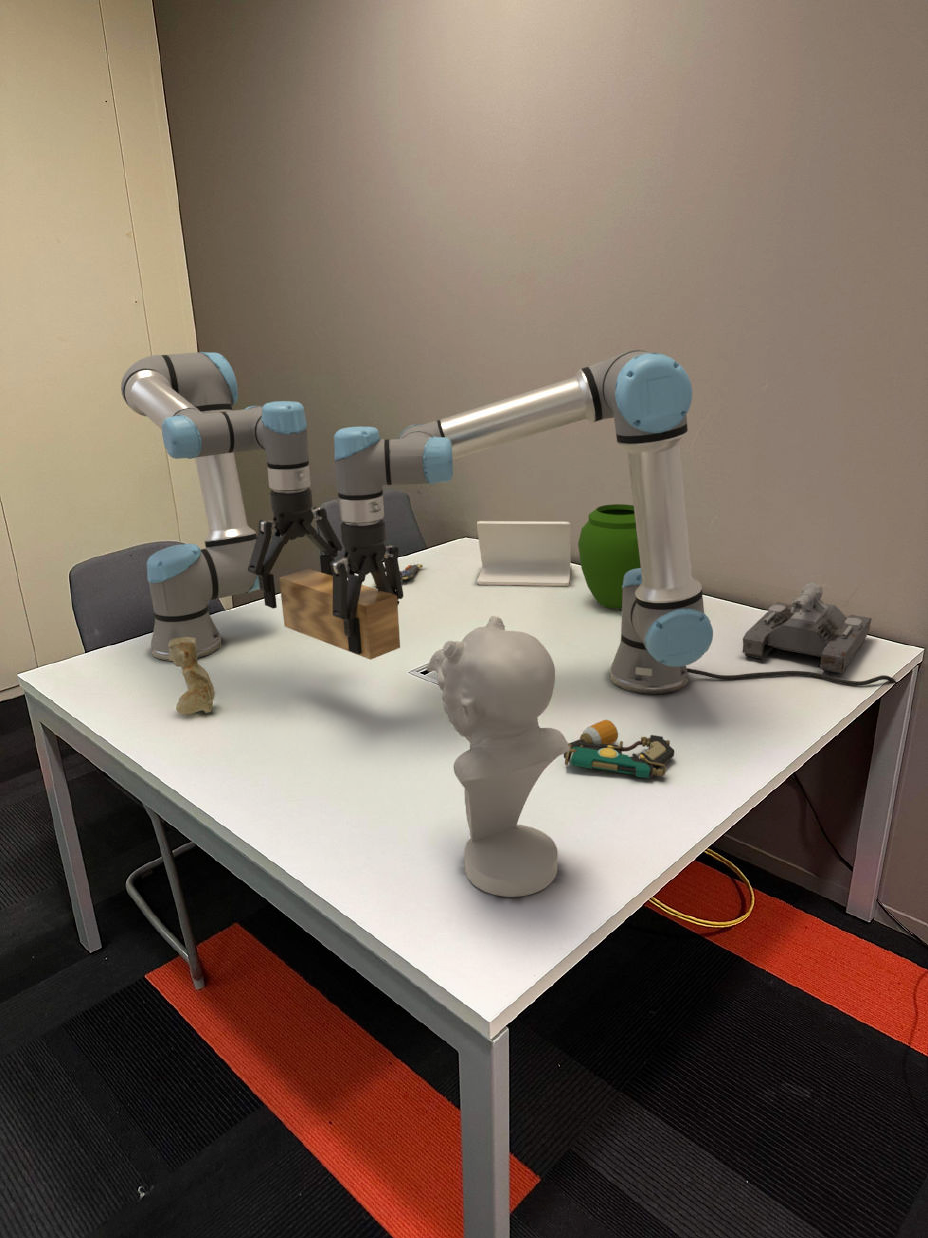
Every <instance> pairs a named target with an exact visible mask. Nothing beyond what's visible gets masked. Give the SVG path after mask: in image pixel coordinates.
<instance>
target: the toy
mask: <svg viewBox="0 0 928 1238" xmlns="http://www.w3.org/2000/svg"><path fill="white" fill-rule="evenodd" d="M823 594H824V591H823V588H822V586H821V585H820V584H819V583H816V582H808V583H806V584H805V585H804V586H802V589H801V594H800V595H799V596H798V597H794V598H793V599H792V601H791V602H790V603H785V602H780V601H779V602H776V603H775V604H773V605H771V606H770V607H769V608H768V610H767V612H765V614H764V615H763V616H762V617H761V618H759V619H758V621H756V623H754V624H753V625H752V626H751V627H750V628H749V629H748V630H747V631H746V632H745V634H744V635H743V638H742V653H744V656H745V657H751V658H756V659H761V660H764V659H765V658H766V657H767V655H769V653H770V652H772V651H773V649H777V650H781V651H786V652H787V651H788V652H793V653H797V654H801V655H802V654H803V655H808V656H812V657H817V658H820V666H819V669H821V671H825V672H830V673H834V674H839V675H842V674H843V673H844V671H845V670H846V668H847V667H848V665H849V664H850V662H851V661H852V660H853V658H854V657H855V655H856V654H857V653H858V651H859V650H860V648H861V647H862V645H863V644H864V642H865V640H866V638H867V636H868V635H869V633H870V628H871V623H872V618H871V617H867V616H861V615H857V614H856V615H855V614H849V616H848V617H847V616H846V615H845V614H844V613H843V612H842V610H840V609H839V608H838V607H837V605H834V604H828V603H825V602H824V601H823V600H822V596H823Z"/></svg>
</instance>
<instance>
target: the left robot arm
mask: <svg viewBox="0 0 928 1238" xmlns="http://www.w3.org/2000/svg"><path fill="white" fill-rule="evenodd" d="M120 391H121V395H122V397H123V400H124V402H125V404H126V405H127V406H128V407H129V408H130V409H131V410H132V411H133V412H134V413H136V414H137V415H140V416H143V417H147V418H148V419H149V420H151V422H153V423H154V424H155V425H156V426H157V427H158V428H159V429H160V430H161V436H162V437H161V438H162V440H163V446H164V448H165V450H166V452H167V454H168V456H169V457H170V458H172V459H174V460H176V459H177V460H179V459H188V460H191V459H194V461H195V465H196V471H197V475H198V480H199V485H200V490H201V496H202V501H203V505H204V511H205V516H206V521H207V525H208V530H209V532H208V534H207V536H206V537H205V538H204V545H205V548H200V547H199V545H198V544H196V543H184V544H182V543H181V544H175V545H171V546H168V547H164V548H162V549H160V550H157V551H155V552H154V553H153V554H152V555H150V556H149V557H148V559H147V561H146V574H147V575H146V576H147V578H146V579H147V582H148V586H149V591H150V598H151V603H152V609H153V615H154V626H153V631H152V636H151V642H150V650H151V654H152V656H153V657H154V658H156V659H158V660H162V661H169V662H172V661H171V660H169V647H168V645H169V642H170V640H171V639H174V638H181V637H193V638H196V646H197V659H200V658H203V657H206V656H208V655H211V654H213V653H215V652H216V651H218V650H219V649H220V648H221V646H222V638H221V637H222V636H221V634H220V632H219V630H218V628H217V626H216V624H215V622H214V621H213V619H212V616H211V615H210V612H209V604H208V602H209V601H212V600H219V599H222V598H227V597H232V596H236V595H237V596H238V595H242V594H250V593H251V592H255V591H259V590H260V591H261V592H263V600H264V606H265V607H268V608H271V609H276V608H278V607H277V595H276V587H275V577H274V574H273V573H271V572H272V570H273V567H274V566H275V563H276V562H277V561H278V558H279V556H280V554H281V553H282V551H283V549H284V547H285V545H287V544H289V543H288V542H289V541H293V540H296V539H298V538H304V537H305V536H306V537H307V539H309V540H310V541H311V542H312V543H313V544H314V545H315V546H316V547H317V548H318V549H319V551H321V553H323V554H321V555H319V563H320V572H321V573H324V574H328V575H331V576H333V573H332V570H331V567H330V563H331V562H332V561H335V558H337V557H338V555H339V552H341V551H342V550H343V544H342V542H340V539H339V538H338V536H337V534H336V533H335V532H336V531H335V530H334V529H333V527H332V525H331V523H330V521H329V519H328V513H327V510H326V508H323V507H319V506H314V505H313V495H312V489H311V488H310V486H311V485H312V483H311V482H312V481H311V471H310V470H311V469H310V459H309V445H308V430H307V426H308V423H307V422H308V421H307V420H306V414H305V407H304V405H303V404H302V403H301V402H298V401H291V400H280V401H278V400H277V401H269V402H267V403H264V405H250V406H247V407H246V408H244V409H235V410H233V406H234V405H235V404H237V402H238V400H239V393H238V391H239V386H238V382H237V378H236V375H235V372H234V370H233V368H232V366H231V364H230V362H229V361H228V360H227V359H226V357H225V356H224V355H222V354H221V353H219V352H207V351H206V352H204V351H199V352H185V353H172V354H154V355H149V356H145V357H143V358H140V359H139V360H137V361H135V362H134V363H133V364H132V365H130V366H129V367H128V369H127V370H126V371H125V372H124V374H123V376H122V379H121V384H120ZM258 450H259V451H260V450H264V451H265V456H266V466H267V467H266V468H267V478H268V480H267V481H268V487H269V489H271V491H270V492H269V499H270V505H271V506H270V507H271V510H272V513H273V518H272V519H271V520H264V519H260V520H259V521H258V525H257V526H258V533H257V532H256V530H254V529H252V528H251V527H250V526H249V525H248V519H247V515H246V509H245V504H244V500H243V493H242V489H241V483H240V478H239V473H238V469H237V464H236V457H235V453H242V452H249V451H250V452H251V451H258ZM313 506H314V507H313ZM312 508H313V509H312ZM313 520H314V521H315V523H316V525H317V527H318V528H319V530H320V533H321V534H322V535H323V537H322V536H321V535H320V533H318V531H317V529H315V528H314V526H313V525H312V523H313ZM272 533H273V534H272Z"/></svg>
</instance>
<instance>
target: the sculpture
mask: <svg viewBox="0 0 928 1238" xmlns="http://www.w3.org/2000/svg"><path fill="white" fill-rule="evenodd" d="M168 647H169V660H171V661H170V662H173V663H174V666H175V667H181V672H182V673H181V674H182V675H183V679H184V682H185V684H186V687H187V690H186V691H184V693H182V694H181V695H180V696H179V698H178V700H177V703H176V706H175V710H176V711H177V713H178V714H180V715H184V716H185V715H187V716H188V715H192V714H196V713H197V712H200V711H203V712H204V713H205V714H208V713H211V711H212V709H213V705H214V699H215V697H216V690H215V688H214V685H213V682H212V680H211V677H210V674H209V672H208V671H207V670H206V668H205V667H203V666H202V665H201V664H199V662H198V658H197V646H196V638H193V637H181V638H174V639H171V640H170V642H169V645H168Z"/></svg>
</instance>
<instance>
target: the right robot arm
mask: <svg viewBox="0 0 928 1238" xmlns="http://www.w3.org/2000/svg"><path fill="white" fill-rule="evenodd" d="M692 402H693V386H692V381H691V378H690V376H689V374H688V373H687V371H686V370H685V368H684V367H683V366H682V365H681V364H679V362H677V360H675V359H673V358H672V357H670V356H668V355H666V354H664V353H658V352H650V351H647V350H641V349H633V350H628V351H623V352H622V353H619V354H616V355H614V356H612V357H609V358H606V359H604V360H602V361H599V362H597V363H594V364H591V365H588V366H586V367H582V368H579V369H578V370H577V371H576V373H575V374H574V376H573V377H570V378H567V379H564V380H561V381H558V382H553V383H551V384H548V385H544V386H541V387H539V388H536V389H531V390H528V391H526V392H523V393H519V394H516V395H513V396H509V397H507V398H503V399H501V400H497V401H494V402H491V403H488V404H484V405H481V406H477V407H475V408H471V409H468V410H465V411H462V412H459V413H456V414H455V413H454V414H452V415H449V416H446V417H443V418H440V419H438V420H433V421H431V422H428V423H424V424H423V423H416V424H412V425H409V426H408V427H405V429H404V430H403V431H402V432H401V433H400V434H399V436H398V438H392V439H390V438H388V439H387V438H381V436H380V433H379V432H380V431H379V430H378V428H376V427H374V426H350V427H343V428H340V429H338V430H337V431H336V432H335V434H334V435H333V444H334V445H333V446H334V457H333V458H334V459H333V460H334V467H335V476H336V487H337V495H338V496H337V498H338V508H339V509H338V512H339V520H341V524H340V535H341V544H342V546H343V547H344V553H343V556H342V558H341V559H339V560H337V561H336V560H334V561H332V562H331V563H330V567H331V570H332V573H333V611H332V614H333V616H334V617H337V618H340V619H343V623H344V633H345V635H346V636H348V647H349V651H351V652H350V653H352V652H354V653H356V654H355V655H357V654H361V653H362V648H361V636H360V623H359V618H356V617H355V615H356V610H357V606H358V605H357V603H358V601H359V596H360V591H361V586H362V585H363V582H365V581H366V576H367V575H369V574H371V576H372V579H373V581H375V582H374V585H375V584H376V586H375V587H376V589H378V590H380V591H383V592H387V593H391V594H394V595H397V604H398V606H399V604H400V600H402V599H403V598H404V590H403V583H402V580H401V577H400V571H401V570H400V565H399V552H400V551H399V550H400V549H399V547H398V546H395V545H392V544H391V545H390V544H386V545H385V543H386V540H387V532H386V522H385V521H384V519H383V518H384V517H385V506H384V492H383V491H384V490H383V486H392V485H394V486H395V485H397V486H398V485H427V484H428V485H435V484H440V483H449V482H451V480H452V479H453V476H454V464H453V463H454V461H453V460H456V459H460V458H463V457H466V456H469V455H472V454H475V453H480V452H482V451H486V450H489V449H493V448H495V447H498V446H501V445H505V444H508V443H510V442H515V441H518V440H521V439H525V438H528V437H531V436H534V435H538V434H540V433H544V432H547V431H550V430H554V429H557V428H560V427H563V426H567V425H570V424H573V423H576V422H580V421H584V420H587V421H588V422H590V423H593V424H594V423H596V422H599V421H602V420H608V419H613V420H614V429H615V437H616V444H617V445H619V447H621V448H623V449H624V450H626V453H627V459H628V460H627V461H628V467H629V468H628V469H629V477H630V485H631V492H632V493H631V495H632V502H633V503H632V505H633V506H634V512H635V521H636V530H637V538H638V547H639V556H640V564H641V568H638V569H633V570H630V571H628V572H626V574H625V575H624V580H623V585H622V588H623V596H622V609H621V625H620V627H621V628H620V629H621V630H620V643H619V644H618V647H617V651H616V653H615V656H614V658H613V661H612V662H611V665H610V680H611V682H612V683H613V684H614V685H616V686H617V687H619V688H620V689H623V690H625V691H629V692H632V693H636V694H642V695H643V694H644V695H664V694H670V693H674V692H677V691H679V690H682V689H683V688H684V687H686V685H687V684H688V678H689V677H688V676H689V674H694V675H699V676H704V677H708V678H712V679H715V680H743V679H750V678H761V677H777V676H806V677H813V678H819V679H823V680H826V681H831V682H833V683H834V682H835V683H838V684H843V685H847V686H848V685H849V686H856V687H857V686H859V687H860V686H867V685H871V684H873V683H877V682H878V681H883V680H884V681H885V680H886V681H888V682H890V683H891V684H897V683H898V682H897V681H896V680H895V678H893V677H891V676H889V675H882V674H881V675H878V676H875V677H873V678H870V679H867V680H866V679H865V680H861V681H860V680H849V679H843V678H840V677H839V678H838V677H835V676H831V675H827V674H823V673H818V672H814V671H804V670H780V671H777V670H776V671H765V672H764V671H762V672H752V673H751V672H750V673H742V674H730V675H727V674H716V673H712V672H708V671H704V670H699V669H694V668H688V667H687V666H689V665H692V664H693V663H696V662H697V661H699V660H700V659H701V658H702V657H703V656H704V655H705V654H706V653H707V652H708V651H709V649H710V647H711V645H712V643H713V640H714V639H713V638H714V629H713V625H712V623H711V620H710V618H709V616H708V615H706V614H705V607H704V597H703V586H702V583H701V582H700V581H698V580H697V579H696V578H695V577H693V576H692V575H693V574H692V563H691V562H692V561H691V553H690V541H689V531H688V521H687V519H688V518H687V510H686V499H685V488H684V478H683V476H684V475H683V467H682V456H681V455H682V454H681V446H680V445H681V443H682V441H683V440H684V439H685V438H686V436H687V435H688V434H689V433H688V432H689V429H688V428H689V427H688V418H687V417H688V416H687V414H688V412H689V410H690V408H691V405H692ZM347 580H348V582H347ZM349 651H348V652H349ZM354 653H353V654H354Z"/></svg>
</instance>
